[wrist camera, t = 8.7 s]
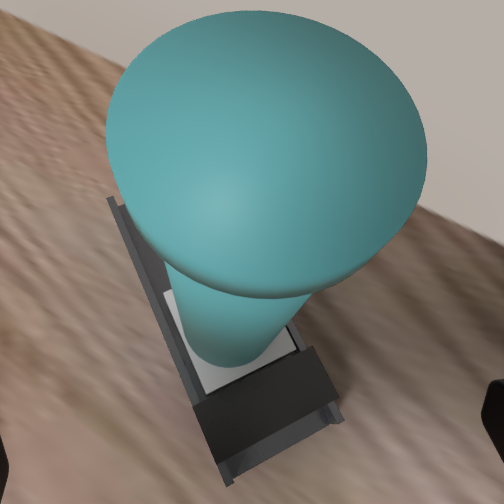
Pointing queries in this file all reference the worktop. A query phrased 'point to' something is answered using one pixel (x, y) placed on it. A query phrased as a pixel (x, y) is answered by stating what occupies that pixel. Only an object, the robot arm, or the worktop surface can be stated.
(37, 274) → the worktop surface
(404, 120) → the teal tall cylinder
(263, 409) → the track
